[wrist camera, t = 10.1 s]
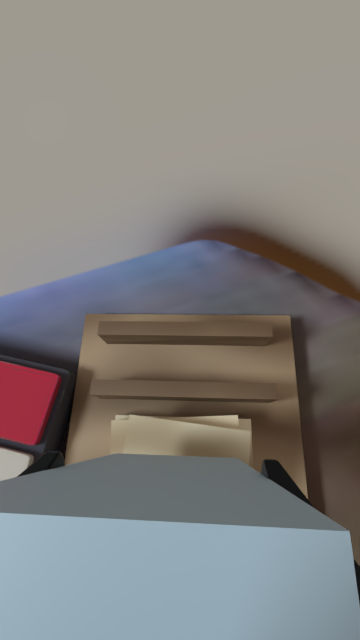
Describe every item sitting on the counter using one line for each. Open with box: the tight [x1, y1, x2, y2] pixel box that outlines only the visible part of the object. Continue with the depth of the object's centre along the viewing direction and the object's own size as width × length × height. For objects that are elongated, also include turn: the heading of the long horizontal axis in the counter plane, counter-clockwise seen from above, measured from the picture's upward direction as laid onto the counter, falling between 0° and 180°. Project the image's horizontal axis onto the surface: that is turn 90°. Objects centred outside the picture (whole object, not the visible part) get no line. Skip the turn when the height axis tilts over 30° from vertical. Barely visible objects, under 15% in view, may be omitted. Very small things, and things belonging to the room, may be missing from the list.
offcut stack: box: [110, 414, 253, 468], centre depth 19 cm, size 5×9×3 cm, turn 88°
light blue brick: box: [0, 453, 360, 640], centre depth 9 cm, size 2×6×12 cm, turn 88°
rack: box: [64, 314, 308, 499], centre depth 21 cm, size 14×16×4 cm
